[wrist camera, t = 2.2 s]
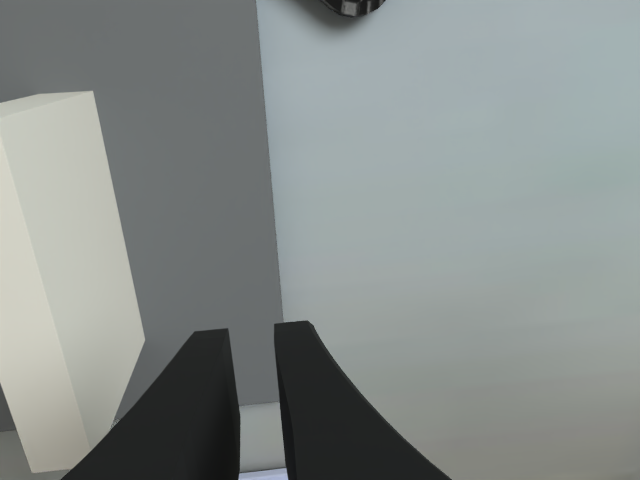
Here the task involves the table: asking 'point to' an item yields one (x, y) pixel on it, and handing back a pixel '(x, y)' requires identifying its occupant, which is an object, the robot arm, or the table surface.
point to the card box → (62, 280)
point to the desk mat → (171, 163)
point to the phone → (353, 6)
